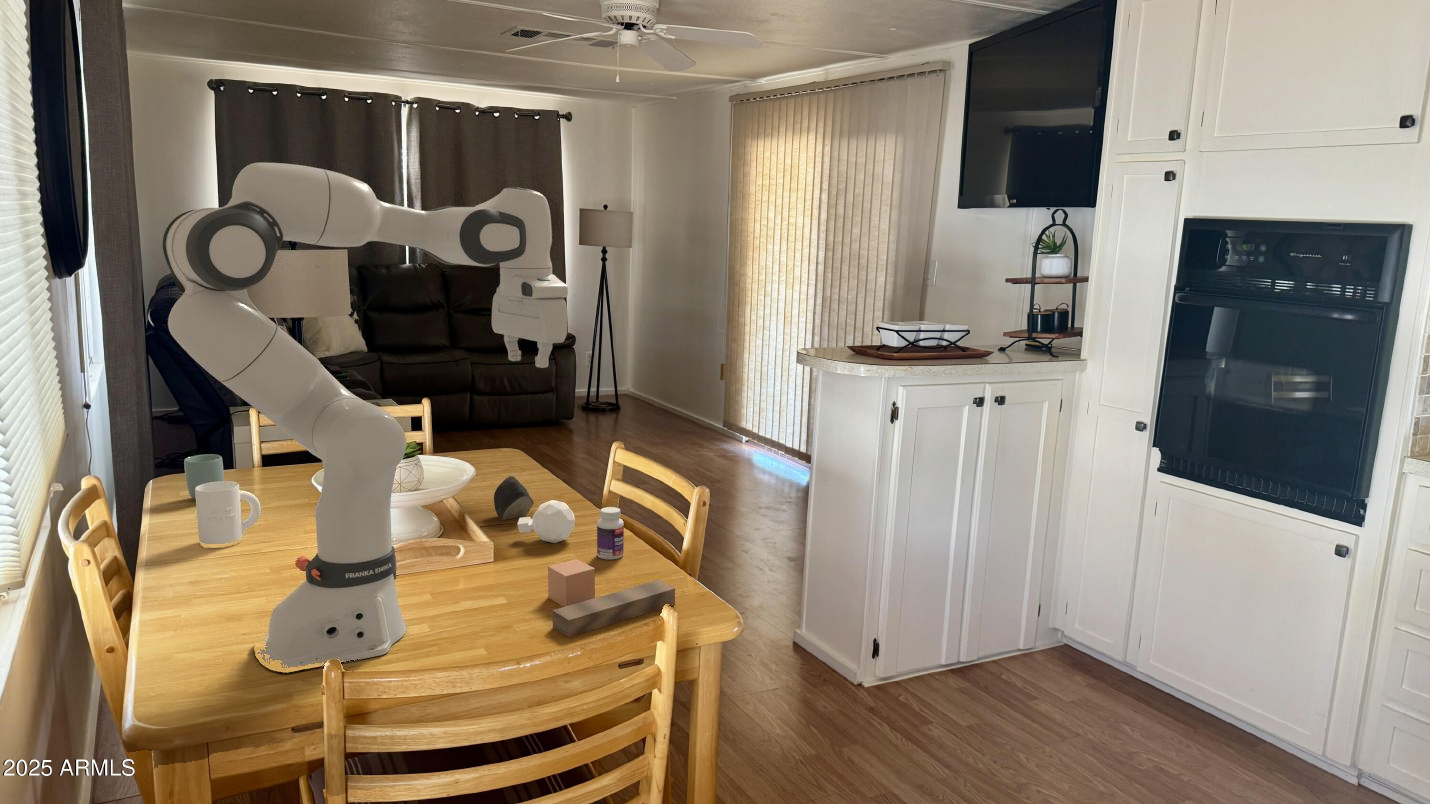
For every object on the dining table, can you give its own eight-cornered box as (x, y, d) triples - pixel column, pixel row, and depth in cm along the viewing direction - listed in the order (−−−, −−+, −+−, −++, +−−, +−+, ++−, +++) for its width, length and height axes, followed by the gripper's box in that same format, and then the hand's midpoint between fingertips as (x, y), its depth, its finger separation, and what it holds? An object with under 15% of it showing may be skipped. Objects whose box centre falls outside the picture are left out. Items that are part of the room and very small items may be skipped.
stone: (500, 527, 212) (503, 501, 205) (486, 502, 216) (489, 476, 208) (533, 515, 216) (537, 490, 209) (518, 491, 220) (522, 465, 213)
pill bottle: (619, 561, 186) (619, 514, 185) (593, 558, 187) (593, 512, 186) (627, 552, 192) (627, 506, 190) (602, 550, 193) (601, 504, 191)
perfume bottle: (582, 525, 202) (528, 529, 203) (574, 490, 198) (519, 494, 199) (575, 549, 195) (519, 554, 196) (567, 514, 190) (510, 518, 191)
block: (566, 608, 163) (565, 576, 162) (548, 597, 168) (547, 566, 167) (594, 600, 167) (594, 568, 166) (576, 589, 172) (576, 558, 171)
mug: (269, 539, 195) (265, 484, 192) (206, 552, 187) (201, 494, 184) (256, 529, 201) (252, 475, 198) (194, 541, 193) (190, 485, 190)
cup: (231, 497, 223) (228, 457, 221) (199, 505, 216) (195, 463, 214) (213, 492, 227) (210, 452, 225) (181, 500, 220) (177, 459, 218)
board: (568, 637, 152) (568, 620, 151) (552, 627, 155) (552, 610, 155) (675, 604, 166) (675, 588, 165) (657, 595, 170) (658, 579, 169)
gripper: (481, 281, 167) (483, 358, 169) (540, 288, 152) (541, 372, 154) (513, 280, 171) (514, 355, 173) (573, 287, 156) (574, 369, 158)
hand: (528, 363), depth 164 cm, fingers open, 8 cm apart
